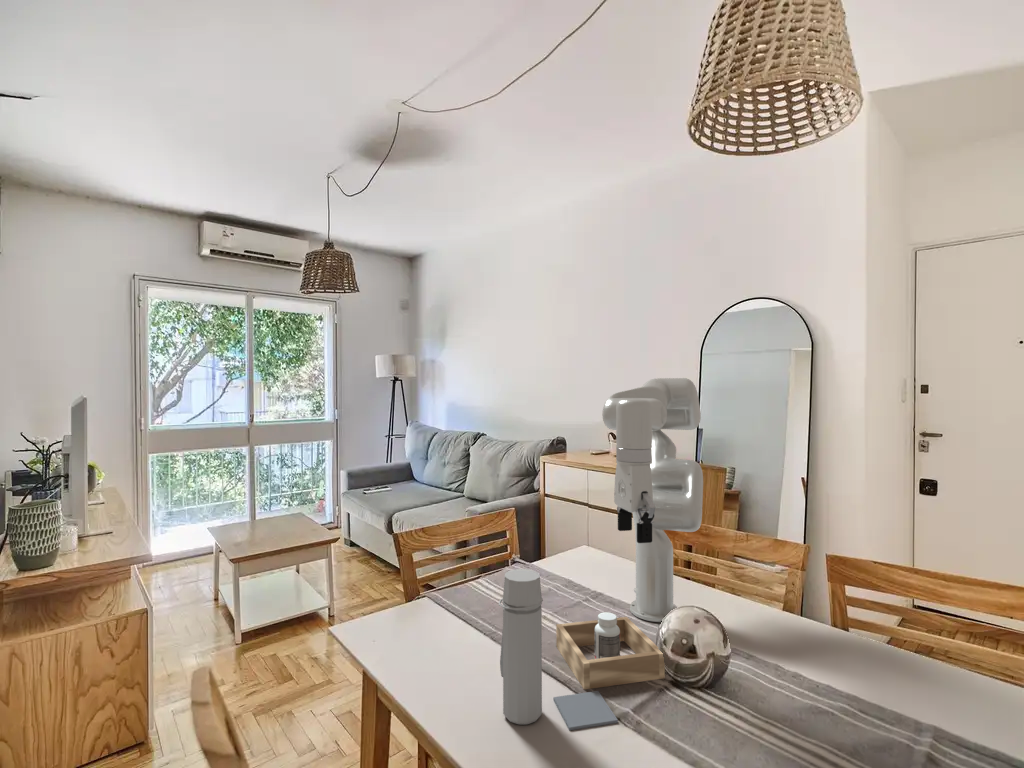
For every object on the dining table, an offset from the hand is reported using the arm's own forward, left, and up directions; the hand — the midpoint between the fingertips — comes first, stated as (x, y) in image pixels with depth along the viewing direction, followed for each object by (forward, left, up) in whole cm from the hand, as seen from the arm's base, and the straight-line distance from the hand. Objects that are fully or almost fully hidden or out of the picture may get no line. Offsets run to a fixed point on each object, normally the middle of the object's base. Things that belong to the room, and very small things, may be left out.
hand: (634, 536), depth 111 cm
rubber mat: (+13, -16, -27) cm, 34 cm away
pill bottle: (-2, -5, -27) cm, 28 cm away
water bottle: (+11, -28, -27) cm, 41 cm away
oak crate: (-2, -5, -27) cm, 28 cm away
